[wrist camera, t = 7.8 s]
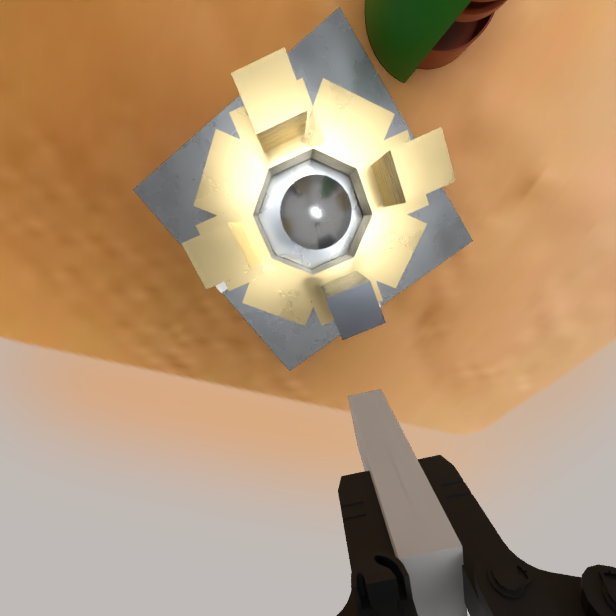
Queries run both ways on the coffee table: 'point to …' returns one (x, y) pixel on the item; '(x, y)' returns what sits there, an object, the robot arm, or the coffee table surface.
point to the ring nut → (332, 152)
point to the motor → (424, 31)
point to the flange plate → (305, 195)
